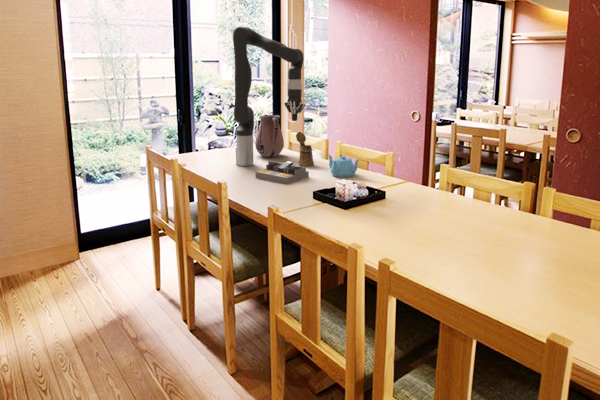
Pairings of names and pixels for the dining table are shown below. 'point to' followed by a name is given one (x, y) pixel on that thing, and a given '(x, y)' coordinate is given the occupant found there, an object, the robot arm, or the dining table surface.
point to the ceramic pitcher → (269, 136)
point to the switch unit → (282, 174)
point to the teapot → (343, 166)
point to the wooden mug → (304, 151)
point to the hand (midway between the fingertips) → (294, 120)
